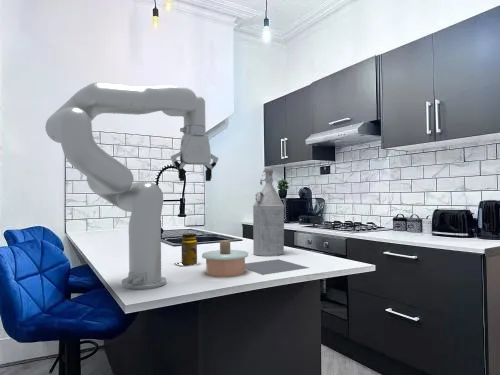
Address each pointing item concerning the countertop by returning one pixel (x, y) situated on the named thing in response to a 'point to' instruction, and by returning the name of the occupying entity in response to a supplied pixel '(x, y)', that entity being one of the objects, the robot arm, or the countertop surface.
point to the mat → (272, 266)
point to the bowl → (225, 267)
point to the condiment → (189, 249)
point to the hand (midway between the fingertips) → (195, 180)
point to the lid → (225, 252)
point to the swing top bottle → (268, 220)
